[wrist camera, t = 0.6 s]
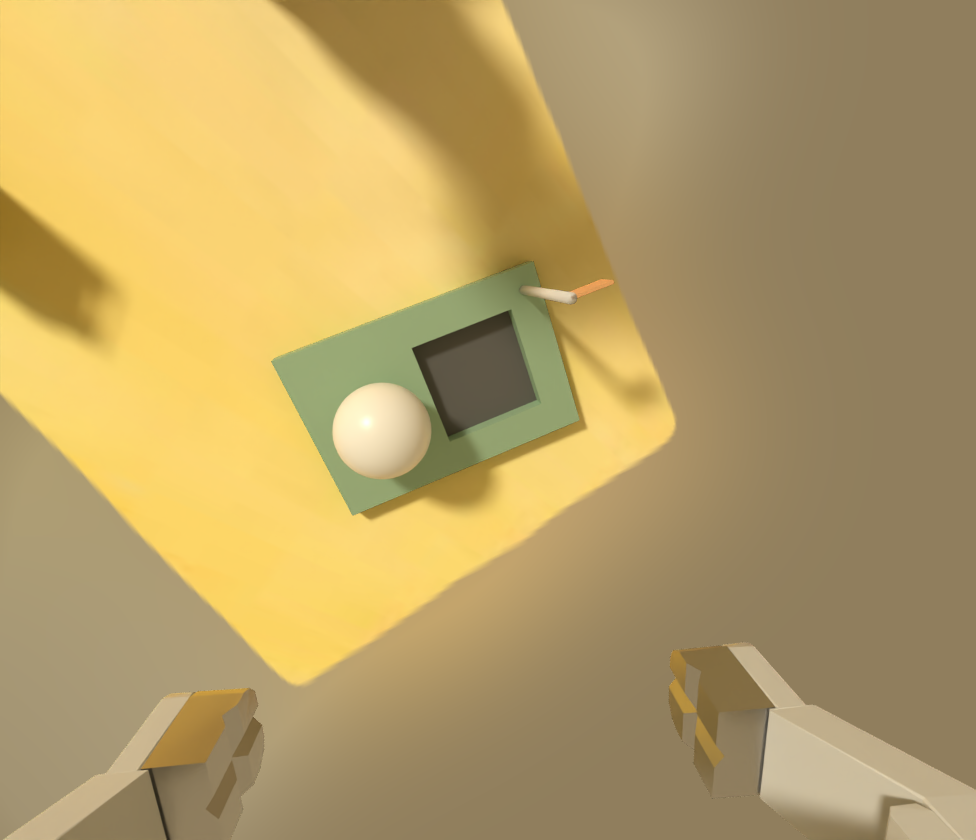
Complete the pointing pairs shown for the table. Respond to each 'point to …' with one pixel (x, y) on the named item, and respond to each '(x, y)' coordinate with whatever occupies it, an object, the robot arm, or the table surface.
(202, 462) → the table surface
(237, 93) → the table surface
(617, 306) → the table surface
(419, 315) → the putting mat
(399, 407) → the ball
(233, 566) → the table surface
